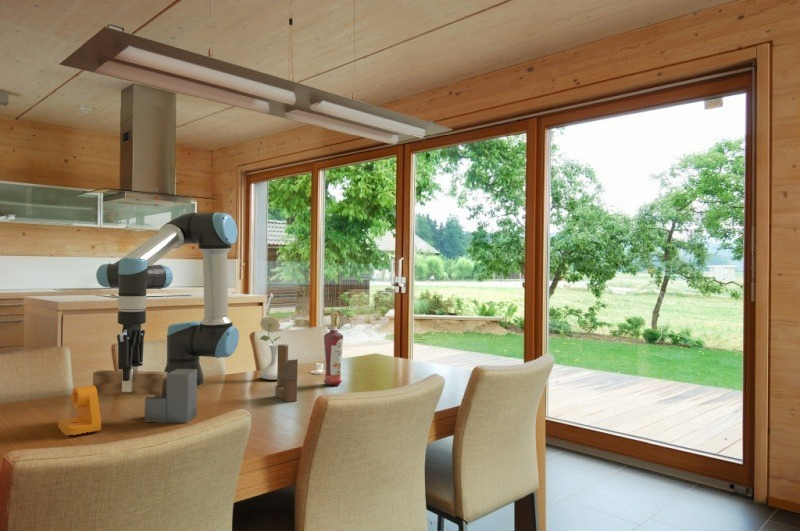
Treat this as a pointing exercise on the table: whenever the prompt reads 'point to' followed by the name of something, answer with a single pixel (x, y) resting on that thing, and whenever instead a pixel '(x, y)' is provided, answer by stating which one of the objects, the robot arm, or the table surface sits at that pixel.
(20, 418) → the table surface
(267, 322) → the flower in vase
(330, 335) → the liquor
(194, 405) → the grey stepped block
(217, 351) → the robot arm
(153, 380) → the brown wooden bar
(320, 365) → the teacup and saucer
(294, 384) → the wooden block
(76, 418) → the bracket
